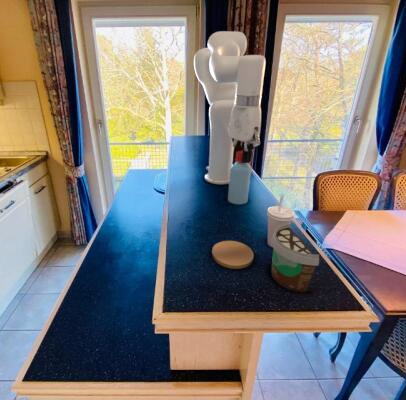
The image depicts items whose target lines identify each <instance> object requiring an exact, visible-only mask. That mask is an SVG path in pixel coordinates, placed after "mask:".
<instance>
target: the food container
mask: <svg viewBox="0 0 406 400" xmlns="http://www.w3.org/2000/svg"><path fill="white" fill-rule="evenodd" d="M271 244H272V247H271V248H272V260H271V261H272V262H271V270H270V271H271V276H272V278H273V279H274V280H275V282H276V283H277V284H278V285H280V286H281V287H283V288H285V289H288V290H289V291H294V292H299V293H306V292H307V290H308V287H309V285H310V283H311V279H312V277H313V275H314V271H315V269H316V266H318V267H319V265H320V254H314V253H313V252H312V251H311V250H310V248H309V246H307V244H306V243H305V241H304V240H303V239H302V238H301V237H300V236H299V235H298V234H296V233H295V232H294V230H293V229H292V224H287V225H283V226H280V227H279V228H277V230H276V231H275V232H274V234H273V236H272V238H271Z"/></svg>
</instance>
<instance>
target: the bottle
mask: <svg viewBox="0 0 406 400" xmlns="http://www.w3.org/2000/svg"><path fill="white" fill-rule="evenodd" d="M251 175H252V167H251V166H250V164H249V162H248V163H240V162H237V161H235V162H234V163H232V166H231V168H230V180H229V184H228V191H227V192H228V193H227V201H228V203H231V204H234V205H245V204H247V203H248V199H249V193H250V183H251Z"/></svg>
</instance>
